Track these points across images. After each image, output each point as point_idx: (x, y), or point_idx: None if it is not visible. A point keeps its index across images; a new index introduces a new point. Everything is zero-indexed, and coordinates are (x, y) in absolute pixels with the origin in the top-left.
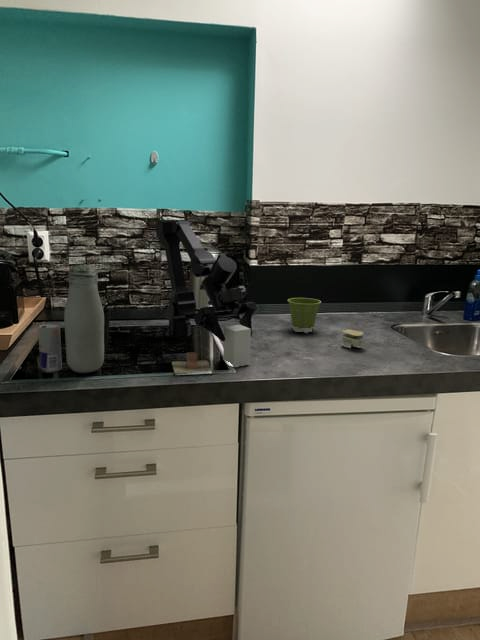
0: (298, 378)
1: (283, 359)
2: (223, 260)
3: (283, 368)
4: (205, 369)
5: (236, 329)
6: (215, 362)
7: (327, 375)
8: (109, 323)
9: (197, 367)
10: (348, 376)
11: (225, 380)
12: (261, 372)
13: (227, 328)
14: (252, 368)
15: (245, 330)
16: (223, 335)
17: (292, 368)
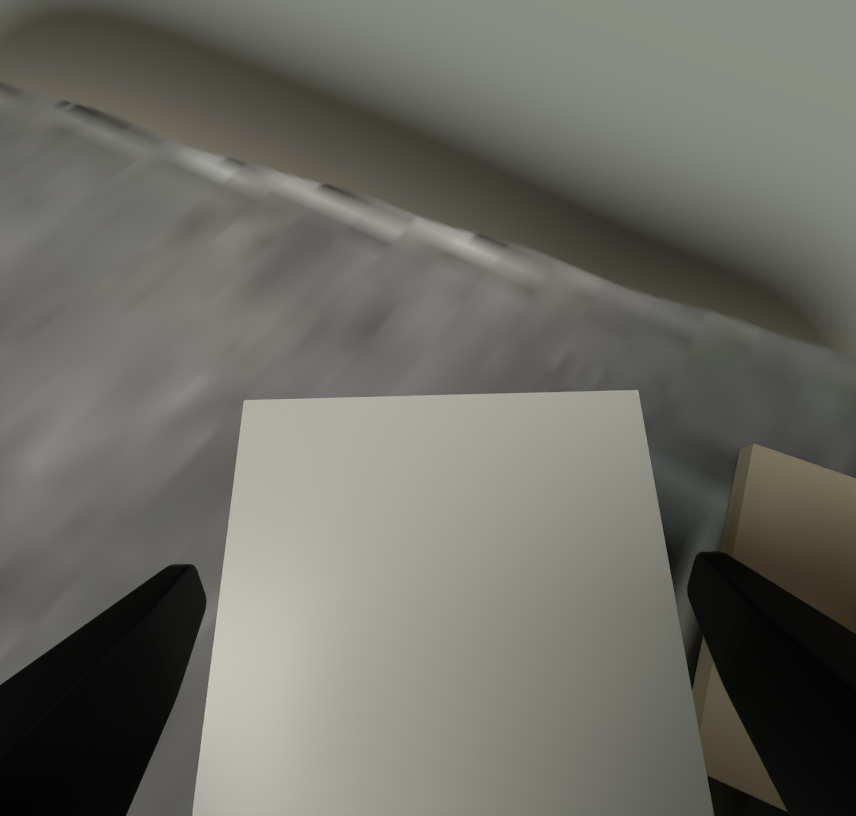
0: (270, 175)
1: (38, 496)
2: None
3: (207, 336)
4: (795, 524)
5: (542, 486)
6: None
7: (102, 147)
8: None
9: (852, 608)
10: (32, 99)
11: (691, 323)
12: (389, 339)
13: (689, 698)
14: None
15: (381, 400)
16: (757, 595)
17: (159, 310)
